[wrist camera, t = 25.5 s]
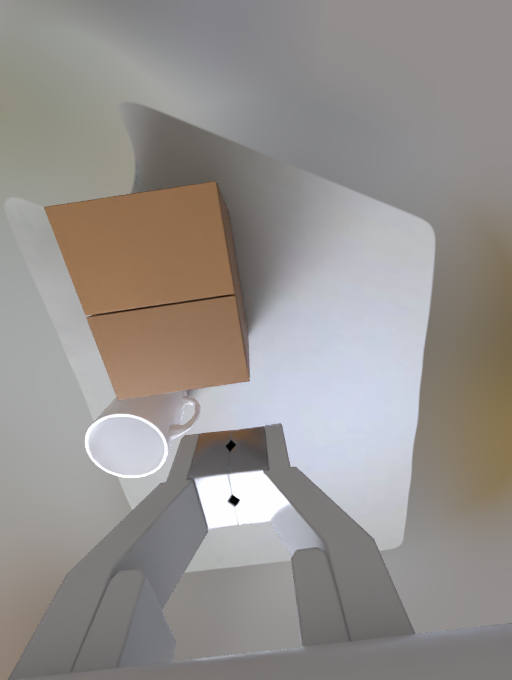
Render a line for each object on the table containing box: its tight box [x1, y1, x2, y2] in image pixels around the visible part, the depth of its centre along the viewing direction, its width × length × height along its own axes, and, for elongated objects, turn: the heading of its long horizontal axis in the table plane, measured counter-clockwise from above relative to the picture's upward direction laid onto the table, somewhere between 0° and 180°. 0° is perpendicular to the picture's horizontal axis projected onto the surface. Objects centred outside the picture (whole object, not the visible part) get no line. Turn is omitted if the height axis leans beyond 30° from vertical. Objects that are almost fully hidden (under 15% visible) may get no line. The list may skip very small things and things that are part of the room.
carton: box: [87, 183, 250, 400], centre depth 28 cm, size 17×13×14 cm
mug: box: [85, 390, 200, 478], centre depth 34 cm, size 10×12×12 cm
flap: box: [44, 181, 235, 315], centre depth 20 cm, size 8×13×1 cm, turn 98°
